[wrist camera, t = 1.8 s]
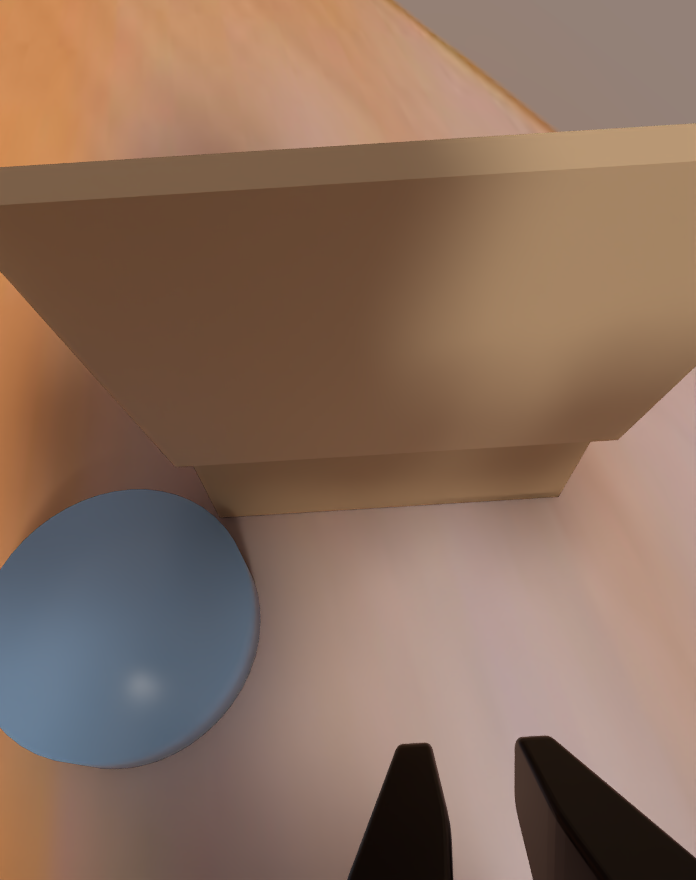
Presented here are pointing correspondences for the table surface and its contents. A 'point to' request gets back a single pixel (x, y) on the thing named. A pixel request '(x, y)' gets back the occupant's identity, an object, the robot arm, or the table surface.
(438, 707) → the table surface
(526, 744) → the robot arm
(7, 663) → the blue rounded dome
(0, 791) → the table surface
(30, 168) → the lid flap
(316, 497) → the carton
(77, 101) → the table surface
